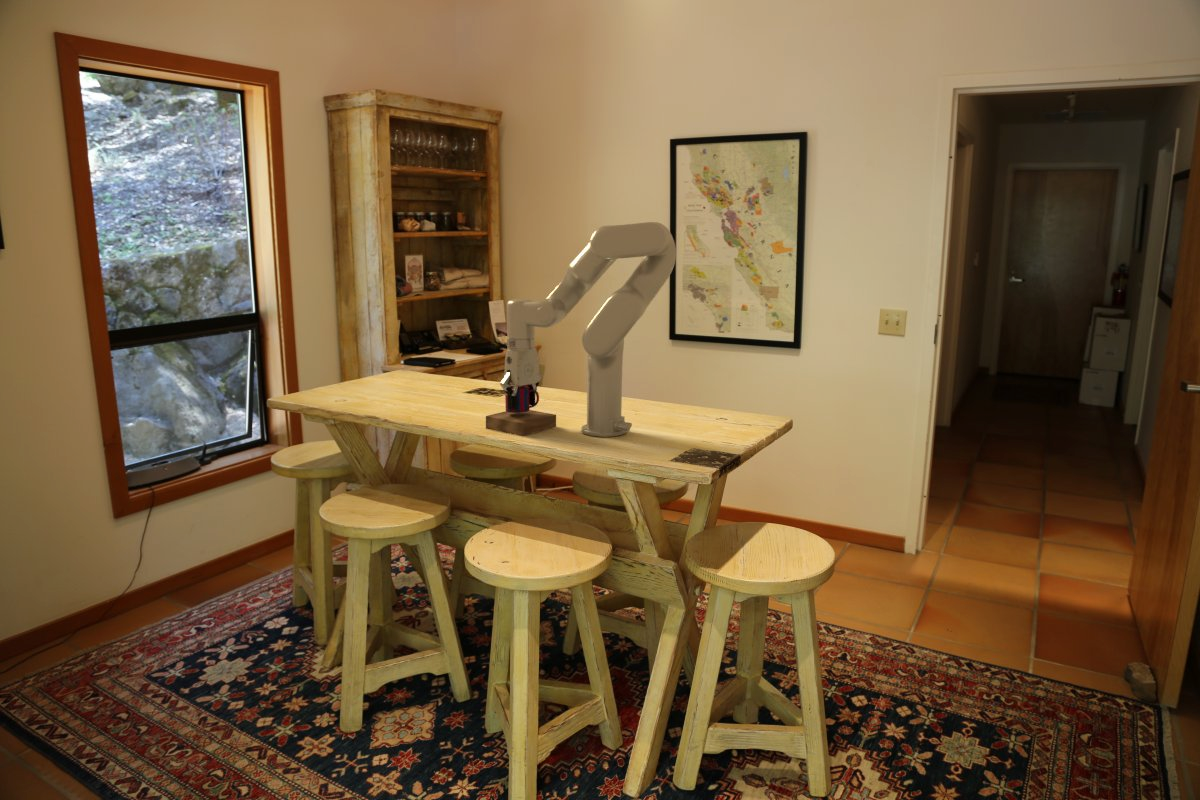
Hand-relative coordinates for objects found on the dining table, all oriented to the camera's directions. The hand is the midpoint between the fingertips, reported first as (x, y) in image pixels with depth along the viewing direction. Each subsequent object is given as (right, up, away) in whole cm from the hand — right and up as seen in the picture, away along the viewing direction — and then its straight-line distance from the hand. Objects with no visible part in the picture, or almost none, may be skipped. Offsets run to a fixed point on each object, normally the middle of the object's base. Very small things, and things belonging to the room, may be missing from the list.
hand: (521, 406), depth 237 cm
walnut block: (0, -6, +1) cm, 6 cm away
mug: (0, -1, 0) cm, 2 cm away
